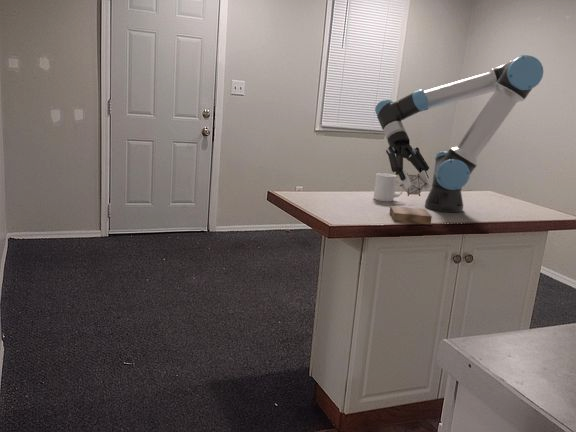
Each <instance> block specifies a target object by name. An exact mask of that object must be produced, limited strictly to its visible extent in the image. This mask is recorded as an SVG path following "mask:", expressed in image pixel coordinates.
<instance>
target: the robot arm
mask: <svg viewBox="0 0 576 432" xmlns="http://www.w3.org/2000/svg"><path fill="white" fill-rule="evenodd" d="M543 76H544V67H543V64H542V62H541V61H540V59H539V58H537V57H535V56H533V55H529V54H528V55H527V54H524V55H523V54H522V55H519V56H517V57H515V58H513V59H511V60H509V61H507V62H506V63H503V64H501V65H499V66H496V67H492V68H490V70H489V71H488V72H485V73H481V74H478V75H477V74H476V75H474V76H471V77H468V78H464V79H460V80H457V81H453V82H450V83H446V84H442V85H440V86H436V87H432V88H430V89H429V88H428V89H425V90H423V89H421V88H420V89H418V90H416V91H412V93H409V94H408V95H406V96H404V97H402V98H400V99H399V100H396V101H394V102H393V100H391V99H389V98H387V99H383V100H380V101H379V102H378V103H377V104H376V105H375V108H374V110H375V114H376V118H377V120H378V122H379V124H380V127H381V129H382V131H383V133H384V136H385V138H386V140H387V143H388V148H387V149H386V150H385V153H386V154H387V155H388V161H389V164H390V169H391V172H392V173H394V175H396V176H398V177H399V179H400V181H401V182H402V184H404V186H405V188H406V190H408V189H409V188H410V187H411V186H412V184H411V182H410V180H409V177H408V175H409V174H408V175H407V173H408V172H407V171H406V169H404V159H405V160H407V161H408V162H410V163H411V164H412V166H413V167H414V168H415V169H416V170H417V172H418V173H419V175H420V178H421V179H422V180H423V182H424V183H427V184H425V185H424V187H423V189H424V190H428V189H429V188H430V187H431V189H430V191H429V193H428V195H427V197H426V199H425V201H424V207H425V208H427V209H430V210H433V211H439V212H444V213H462V212H463V210H464V201H463V195H462V194H463V193H462V188H463V187H465V186H466V185H467V183H468V182H469V180H470V177H471V175H472V173H473V171H474V170H475V169H476V167H477V166H478V158H479V156H480V154H481V153H482V152H483V151H484V149H485V148H486V146H487V145H488V143H489V142H490V141H491V139H492V138H493V136H494V135H495V134H496V132H497V131H498V129H499V128H500V127H501V126H502V124H503V123H504V121H505V120H506V118H507V117H508V116H509V114H510V113H511V112H512V110H513V109H514V107H515V106H516V104H517V103H519V102H523V101H525V100H526V98H527V97H528V95H529V94H530V93H531V91H532V90H533V89H534V88H535V87H537V86H538V85H539V84H540V83H541V81H542V79H543ZM489 93H490V94H491V93H493V94H492V95H491V97H490V98H489V99H488V101H487V102H486V104H484V107H483V108H482V109H481V111H480V112H479V113H478V115H477V116H476V118H475V120H474V121H473V122H472V124H471V125H470V127H469V128H468V129H467V131H466V132H465V134H464V135H463V137H462V138H461V140H459V142H458V144H457V145H456V146H452V147H450V148H449V150H447V151H438V152H437V153H436V156H435V161H434V162H435V163H434V168H433V169H434V170H433V176H432V183H431V182H430V180H429V178H430V177H429V175H428V170H429V169H430V166H429V164H428V163H427V161H426V160H425V159H424V157H423V155H422V153H421V152H420V148H419V147H416V148H413V147H412V146H411V145H410V142H411V141H410V140H411V139H410V138H409V136H408V133H407V131H406V129H405V127H404V124H403V121H405V120H406V119H408V118H410V117H412V116H414V115H416V114H418V113H421V112H424V111H427V110H431V109H435V108H438V107H442V106H445V105H450V104H453V103H457V102H460V101H464V100H468V99H471V98H474V97H479V96H482V95H486V94H489ZM419 175H418V176H419Z"/></svg>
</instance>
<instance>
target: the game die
mask: <svg viewBox="0 0 576 432" xmlns="http://www.w3.org/2000/svg"><path fill="white" fill-rule="evenodd" d="M406 173H407V175H408V177H409V180H410V182H411V184H412V186H411V187H410V188H409V189H408V190H406V188H405V186H404V184H403V183H402V185H400V184H399V187H401V188H402V187H403V190H404V191H405V192H406V194H407V197H409V196H410V195H417V196H418V197H421V192H422V191H423V189H424V185H425V184H427V183H424V182H423V180H422V179H421V178H420V175H419V174H420V173H419V172H418V173H417V174H408V172H406Z"/></svg>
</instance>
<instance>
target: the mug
mask: <svg viewBox="0 0 576 432" xmlns="http://www.w3.org/2000/svg"><path fill="white" fill-rule="evenodd" d="M397 177H398V175H396V174H392V173H385V172H384V173H382V172H381V173H380V172H379V173H375V183H374V188H373V189H374V190H373V198H374V200H376V201H378V202H379V201H380V202H393V201H394V199H395V198H399V197H400V196H402V194H403V192H404V188H403V187H402V186H401V192H400V193H396V184H399V185H402V184H403V181H401V179H400V180H399V179H398V178H397Z"/></svg>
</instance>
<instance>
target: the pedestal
mask: <svg viewBox="0 0 576 432" xmlns="http://www.w3.org/2000/svg"><path fill="white" fill-rule="evenodd" d="M388 214H389V215H390V217H391V219H392V222H396V223H409V224H419V225H420V224H421V225H431V224H432V217H433V216H432V215H431V214H430V213H429V211H428V210H427V209H426V208H419V207H418V208H417V207H406V206H404V207H403V206H394V205H390V207H389V213H388Z"/></svg>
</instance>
